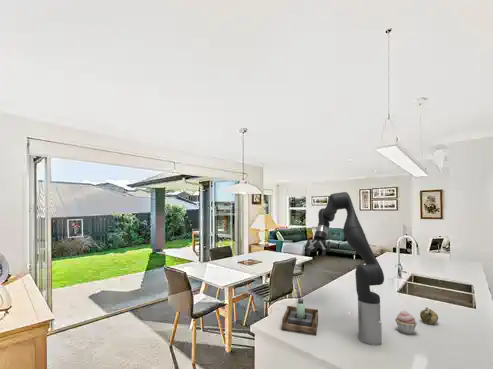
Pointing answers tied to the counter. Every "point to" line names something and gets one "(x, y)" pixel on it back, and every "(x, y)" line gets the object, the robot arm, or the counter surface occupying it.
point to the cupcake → (405, 322)
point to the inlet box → (300, 321)
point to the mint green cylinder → (300, 309)
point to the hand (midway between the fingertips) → (315, 255)
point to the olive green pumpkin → (429, 316)
